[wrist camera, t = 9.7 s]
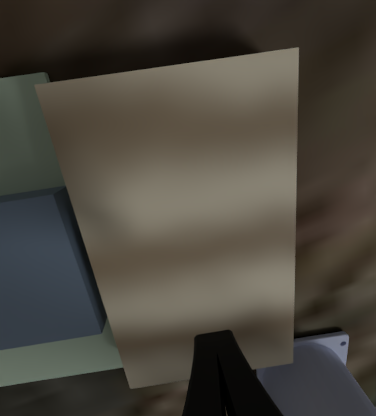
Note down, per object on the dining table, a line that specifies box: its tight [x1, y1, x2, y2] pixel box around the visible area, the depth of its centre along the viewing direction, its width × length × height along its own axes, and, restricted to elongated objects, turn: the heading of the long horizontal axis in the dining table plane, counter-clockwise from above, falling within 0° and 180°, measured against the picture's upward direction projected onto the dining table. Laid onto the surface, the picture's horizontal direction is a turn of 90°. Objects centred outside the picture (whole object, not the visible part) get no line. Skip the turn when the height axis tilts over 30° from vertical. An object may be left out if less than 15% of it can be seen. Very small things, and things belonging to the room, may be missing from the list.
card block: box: [0, 186, 107, 350], centre depth 16 cm, size 10×7×2 cm
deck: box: [34, 47, 299, 389], centre depth 16 cm, size 20×12×3 cm, turn 8°
